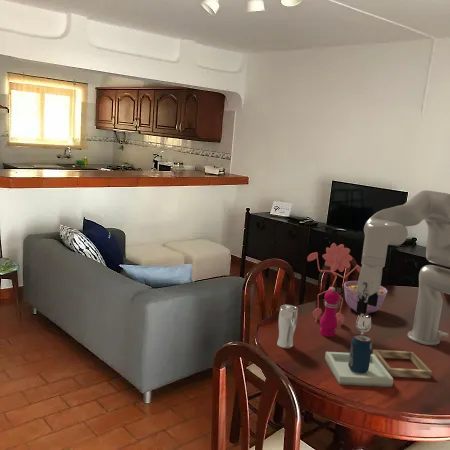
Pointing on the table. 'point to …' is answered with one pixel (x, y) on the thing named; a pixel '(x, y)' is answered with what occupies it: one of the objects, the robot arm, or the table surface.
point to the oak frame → (398, 372)
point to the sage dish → (347, 377)
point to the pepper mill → (329, 314)
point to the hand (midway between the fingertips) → (366, 309)
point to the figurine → (336, 260)
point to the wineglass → (363, 323)
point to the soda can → (360, 353)
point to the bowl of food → (352, 295)
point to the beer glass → (287, 325)
